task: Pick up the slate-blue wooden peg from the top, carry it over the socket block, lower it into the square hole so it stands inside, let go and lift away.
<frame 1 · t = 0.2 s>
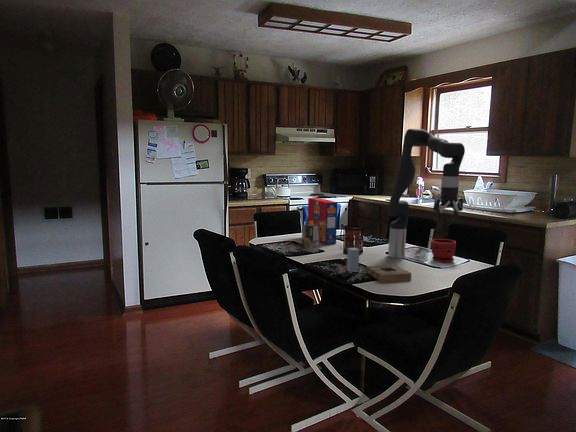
hand: (447, 220, 197), 29 cm above the table, tool pointing down, fingers open, 8 cm apart
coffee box: (310, 251, 257), on the table
socket block: (387, 276, 206), on the table
peg: (352, 271, 213), on the table
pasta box: (321, 240, 288), on the table
plant pot: (442, 261, 236), on the table
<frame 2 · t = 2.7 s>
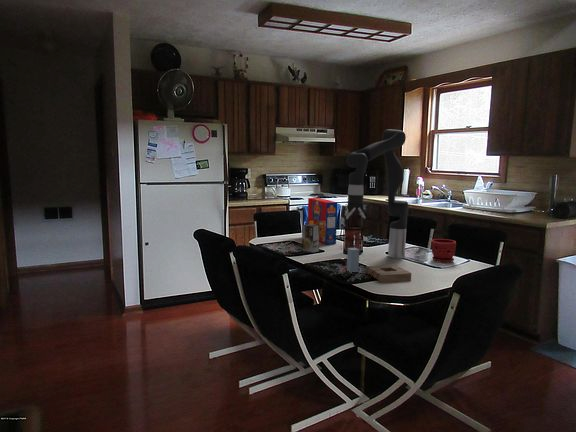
hand: (354, 225, 209), 24 cm above the table, tool pointing down, fingers open, 8 cm apart
nothing on the table moved.
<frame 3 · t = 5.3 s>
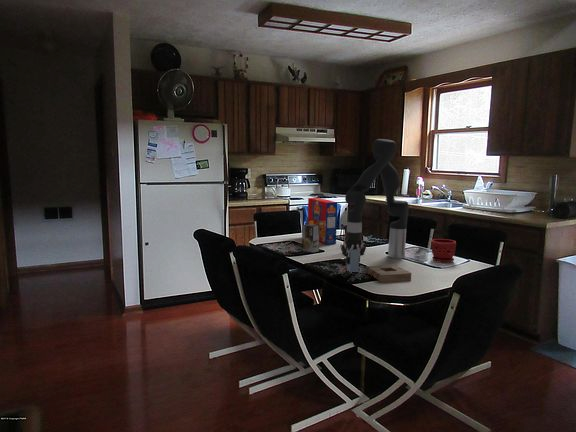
hand: (352, 263, 212), 4 cm above the table, tool pointing down, fingers closed on peg, 4 cm apart
peg: (352, 271, 213), on the table, touching gripper
everything else where it was.
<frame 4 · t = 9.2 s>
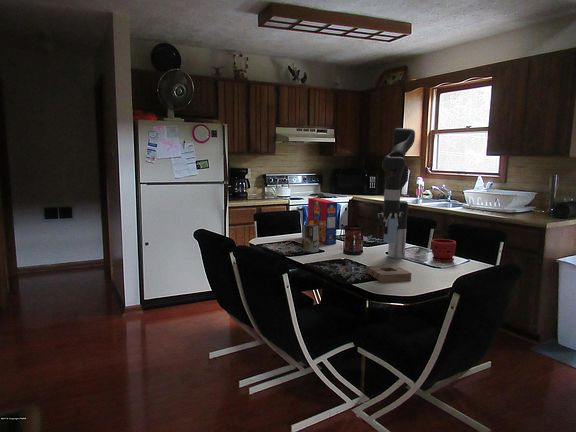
hand: (390, 233, 202), 21 cm above the table, tool pointing down, fingers closed on peg, 4 cm apart
peg: (389, 242, 203), point 17 cm above the table, touching gripper
everything else where it was.
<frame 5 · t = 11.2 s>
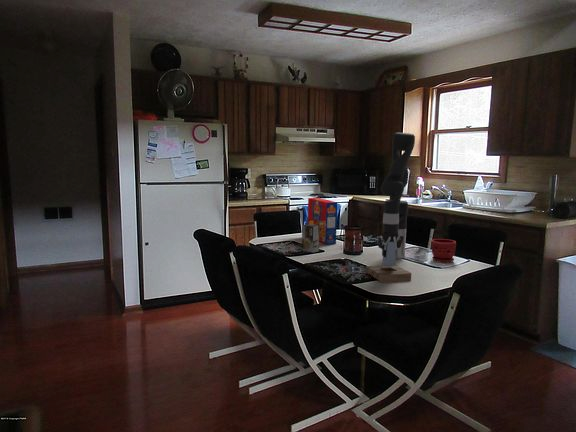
hand: (389, 256, 204), 10 cm above the table, tool pointing down, fingers closed on peg, 4 cm apart
peg: (388, 265, 205), point 6 cm above the table, touching gripper
everything else where it was.
when the fingers open (5 cm above the table, at t = 12.9 s): peg stays where it is, resting in socket block.
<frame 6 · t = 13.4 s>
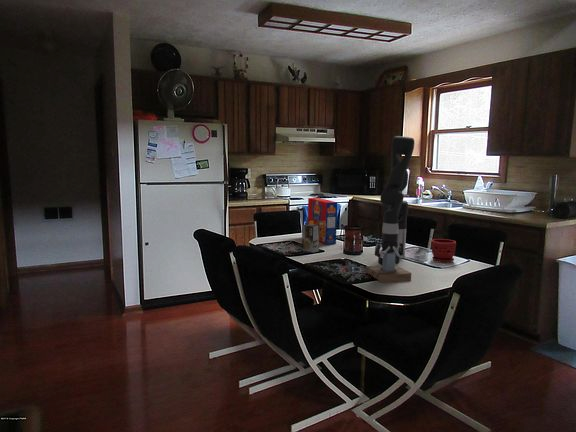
hand: (388, 264, 205), 6 cm above the table, tool pointing down, fingers open, 8 cm apart
peg: (387, 276, 206), resting in socket block
everything else where it was.
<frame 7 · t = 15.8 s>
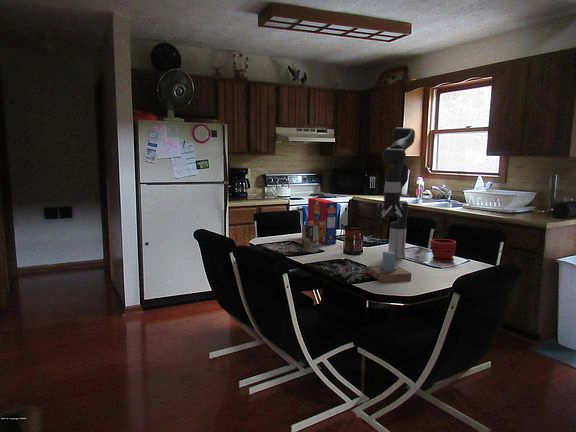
hand: (390, 224, 202), 26 cm above the table, tool pointing down, fingers open, 8 cm apart
nothing on the table moved.
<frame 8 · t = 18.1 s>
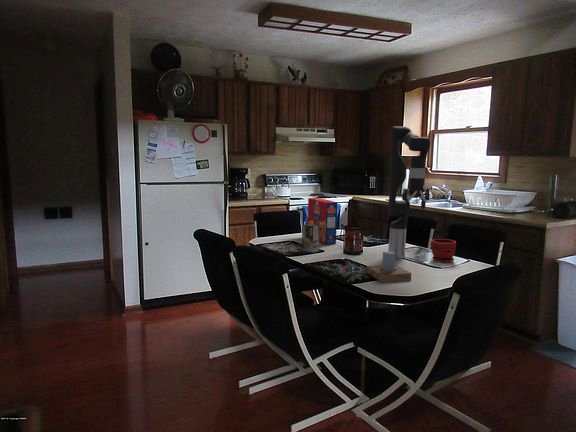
hand: (415, 208, 213), 32 cm above the table, tool pointing down, fingers open, 8 cm apart
nothing on the table moved.
at the end: peg 0.0 cm off-centre on the socket block, point 0.0 cm above the socket block's base; peg tilted 0°; the gripper is holding nothing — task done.
